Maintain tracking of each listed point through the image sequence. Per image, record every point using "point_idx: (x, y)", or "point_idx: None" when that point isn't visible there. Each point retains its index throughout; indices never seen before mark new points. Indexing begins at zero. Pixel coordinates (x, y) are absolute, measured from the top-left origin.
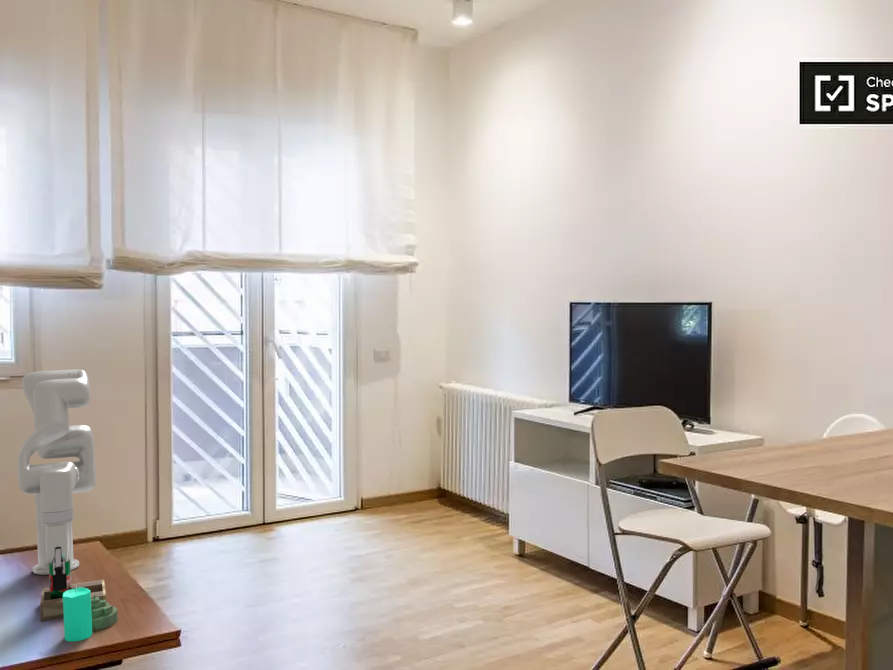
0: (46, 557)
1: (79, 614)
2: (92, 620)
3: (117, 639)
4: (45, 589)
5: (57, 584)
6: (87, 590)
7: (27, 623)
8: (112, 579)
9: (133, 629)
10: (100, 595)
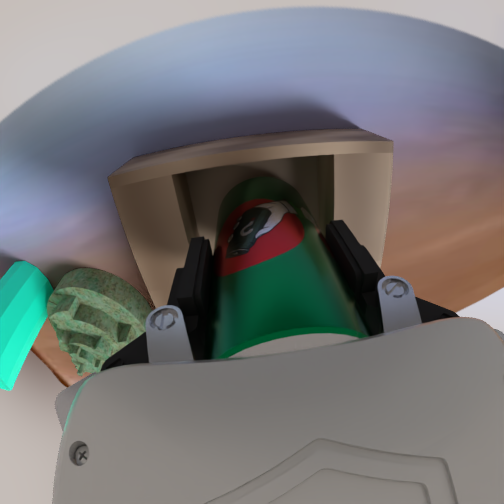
0: (98, 434)
1: None
2: (53, 326)
3: (35, 341)
4: (372, 156)
5: (176, 282)
6: (6, 386)
7: (128, 111)
8: (446, 300)
9: None
10: None
